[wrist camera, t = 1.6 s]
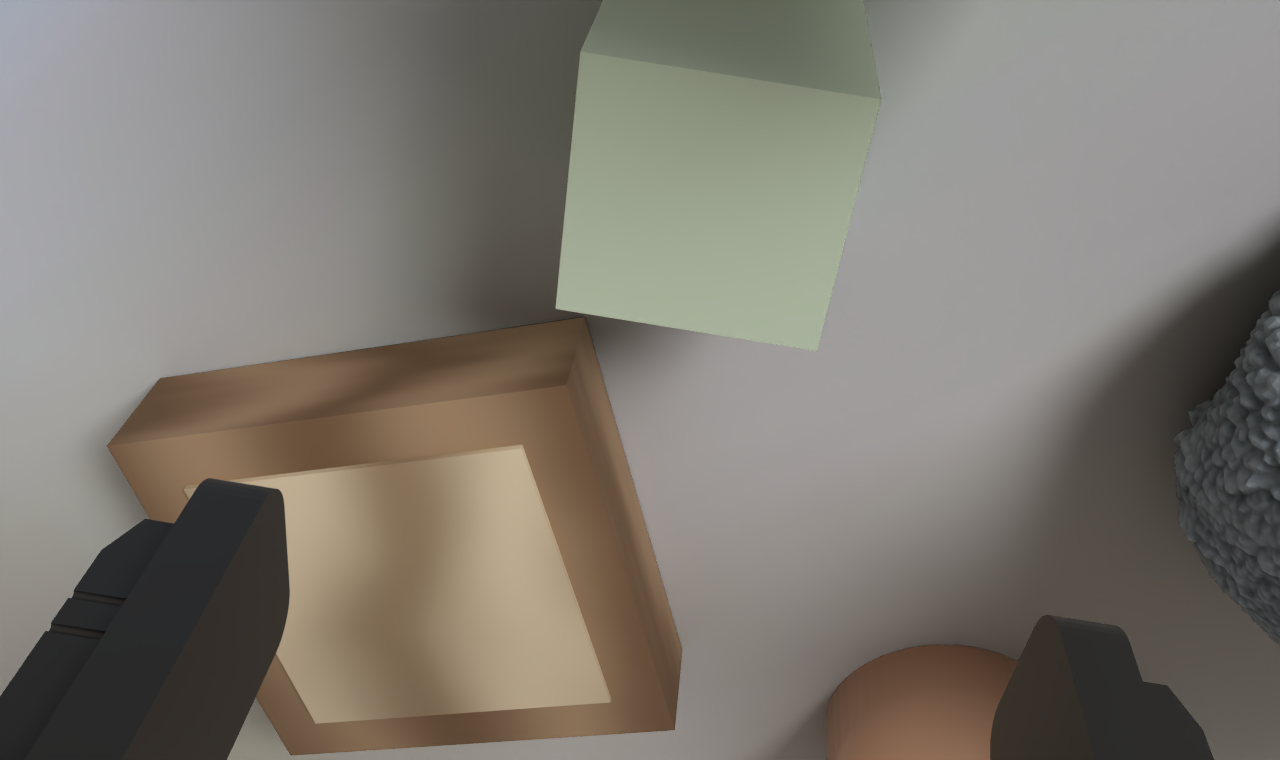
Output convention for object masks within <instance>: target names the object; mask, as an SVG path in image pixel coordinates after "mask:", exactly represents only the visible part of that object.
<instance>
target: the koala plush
mask: <svg viewBox="0 0 1280 760" xmlns="http://www.w3.org/2000/svg"><path fill="white" fill-rule="evenodd" d="M1268 303H1269V310H1267V311H1266V312H1264V313H1263V314H1262V315H1261V318H1260V319H1258V320H1257V323H1256V327H1255V328H1254V329H1253V330H1252V332H1251V333H1250V337H1251V339H1249V340H1248V341H1247V342H1246V343H1247V346H1246V347H1244V348H1242V349H1240V357H1239V358H1237V359H1236V360H1235V361H1234V364H1235V366H1236V368H1235V369H1234V370H1233V371H1232V372H1231V373H1230V376H1229V377H1227V378H1226V384H1225V385H1224V386H1223V388H1222V389H1220V390H1218V391H1217V393H1216V394H1215V395H1214V396H1213V399H1212V401H1205V402H1203V403H1200V404H1198V405H1196V408H1195V410H1191V411H1189V412H1188V414H1189V417H1190V421H1191V426H1189V427H1187V428H1186V429H1184V430H1182V431H1181V432H1180V433H1178V434H1177V435H1176V436H1175V438H1174V439H1173V442H1174V444H1175V445H1176V446H1177V447H1178V448H1179V450H1178V451H1177V452H1176V453H1175V455H1174V459H1175V461H1174V463H1175V466H1176V469H1175V471H1176V477H1177V483H1176V487H1177V498H1178V500H1179V502H1180V506H1179V517H1178V522H1179V523H1180V526H1181V528H1182V529H1183V530H1184V531H1185V532H1186V538H1187V540H1188V541H1192V542H1193V545H1194V548H1195V549H1196V550H1197V551H1198V553H1199V555H1200V557H1201V560H1202V562H1203V563H1204V565H1205V566H1206V568H1207V569H1208V570H1209V575H1210V576H1211V577H1212V578H1214V579H1215V581H1216V583H1218V584H1219V585H1220V586H1221V589H1222V590H1223V592H1225V593H1227V594H1228V595H1229V596H1230V597H1231V598H1232V599H1233V600H1234V601H1235V602H1237V603H1238V604H1239V605H1240V606H1241V608H1242V610H1243V611H1244V612H1246V613H1247V614H1249V615H1250V616H1251V618H1252V620H1253V621H1254V622H1255V623H1256V624H1257V625H1259V626H1260V627H1262V629H1263V630H1264V631H1266V632H1267V633H1268V635H1269V637H1270V638H1271V639H1273V640H1274V641H1275V642H1276V643H1277V644H1278V645H1279V646H1280V291H1276V292H1275V293H1274V294H1273V296H1272V297H1271V298H1270V300H1269V301H1268Z"/></svg>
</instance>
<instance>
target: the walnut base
mask: <svg viewBox="0 0 1280 760" xmlns="http://www.w3.org/2000/svg"><path fill="white" fill-rule="evenodd" d="M107 447H108V449H109V450H110V452H111V454H112V455H113V457H114V459H115V460H116V462H117V464H118V465H119V467H120V469H121V470H122V472H123V474H124V476H125V477H126V479H127V481H128V482H129V484H130V486H131V487H132V489H133V491H134V492H135V494H136V496H137V497H138V499H139V501H140V502H141V504H142V506H143V508H144V509H145V511H146V513H147V514H148V516H149V518H150V519H151V520H155V521H162V522H168V523H175V521H176V520H177V518H178V517H179V515H180V514H181V512H182V510H183V509H184V507H185V506H186V504H187V503H188V501H189V499H190V498H191V496H192V495H193V493H194V491H195V490H196V488H197V487H198V486H199V484H200V483H201V482H202V481H204V480H205V479H208V478H212V479H219V480H225V481H231V482H237V483H244V484H250V485H256V486H262V487H269V488H275V489H279V490H280V491H281V493H282V495H283V499H284V508H285V523H286V539H287V555H288V570H289V586H290V598H289V608H288V615H287V620H286V624H285V628H284V632H283V635H282V639H281V642H280V644H279V647H278V649H277V652H276V654H275V656H274V658H273V661H272V663H271V665H270V667H269V669H268V671H267V674H266V676H265V678H264V680H263V682H262V684H261V687H260V689H259V691H258V693H257V695H256V698H257V700H258V701H259V703H260V705H261V706H262V708H263V710H264V711H265V713H266V715H267V717H268V718H269V720H270V722H271V723H272V725H273V727H274V728H275V730H276V732H277V733H278V735H279V737H280V738H281V740H282V742H283V743H284V745H285V747H286V749H287V750H288V752H289V754H290V755H304V754H319V753H334V752H349V751H365V750H380V749H395V748H410V747H425V746H440V745H455V744H470V743H485V742H501V741H516V740H531V739H546V738H561V737H576V736H591V735H606V734H622V733H637V732H652V731H667V730H675V721H676V710H677V700H678V689H679V679H680V668H681V658H682V648H681V644H680V641H679V637H678V634H677V631H676V627H675V624H674V620H673V617H672V613H671V610H670V607H669V603H668V600H667V596H666V593H665V589H664V586H663V583H662V579H661V576H660V572H659V569H658V565H657V562H656V559H655V555H654V552H653V548H652V545H651V541H650V538H649V535H648V531H647V528H646V524H645V521H644V517H643V514H642V511H641V507H640V504H639V500H638V497H637V494H636V490H635V487H634V483H633V480H632V476H631V473H630V470H629V466H628V463H627V459H626V456H625V452H624V449H623V446H622V442H621V439H620V435H619V432H618V428H617V425H616V422H615V418H614V415H613V411H612V408H611V404H610V401H609V398H608V394H607V391H606V387H605V384H604V380H603V377H602V374H601V370H600V367H599V363H598V360H597V357H596V353H595V350H594V346H593V343H592V339H591V336H590V333H589V329H588V326H587V322H586V319H585V317H583V318H576V319H569V320H562V321H555V322H548V323H541V324H534V325H527V326H520V327H513V328H507V329H500V330H493V331H486V332H479V333H472V334H465V335H458V336H451V337H444V338H437V339H430V340H423V341H417V342H410V343H403V344H396V345H389V346H382V347H375V348H368V349H361V350H354V351H347V352H340V353H333V354H326V355H320V356H313V357H306V358H299V359H292V360H285V361H278V362H271V363H264V364H257V365H250V366H243V367H236V368H230V369H223V370H216V371H209V372H202V373H195V374H188V375H181V376H174V377H167V378H160V379H159V380H158V382H157V383H156V384H155V386H154V387H153V388H152V389H151V391H150V392H149V393H148V394H147V396H146V397H145V398H144V400H143V401H142V402H141V403H140V405H139V406H138V407H137V408H136V410H135V411H134V412H133V414H132V415H131V416H130V417H129V419H128V420H127V421H126V422H125V424H124V425H123V426H122V428H121V429H120V430H119V431H118V433H117V434H116V435H115V436H114V438H113V439H112V440H111V442H110V443H109V444H108V445H107Z"/></svg>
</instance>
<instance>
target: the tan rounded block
mask: <svg viewBox="0 0 1280 760" xmlns="http://www.w3.org/2000/svg"><path fill="white" fill-rule="evenodd" d="M1017 664H1018V662H1016V661H1015V660H1012V659H1010V658H1008V657H1006V656H1003V655H1001V654H998V653H995V652H992V651H989V650H985V649H980V648H975V647H969V646H961V645H925V646H918V647H912V648H907V649H903V650H899V651H895V652H892V653H889V654H886V655H883V656H880V657H878V658H876V659H874V660H872V661H870V662H868V663H866V664H865V665H863V666H861V667H860V668H858V669H857V670H855V671H854V672H853V673H852V674H850V675H849V676H848V677H847V678H846V679H845V680H844V681H843V682H842V683H841V684H840V685H839V686H838V688H837V689H836V691H835V692H834V694H833V695H832V698H831V700H830V702H829V704H828V708H827V713H826V742H827V760H991V759H990V740H991V730H992V724H993V720H994V715H995V712H996V709H997V707H998V704H999V702H1000V700H1001V698H1002V696H1003V693H1004V691H1005V689H1006V687H1007V685H1008V683H1009V681H1010V679H1011V676H1012V674H1013V672H1014V670H1015V668H1016V666H1017Z"/></svg>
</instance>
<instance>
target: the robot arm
mask: <svg viewBox="0 0 1280 760" xmlns="http://www.w3.org/2000/svg"><path fill="white" fill-rule="evenodd" d="M289 598H290V586H289V570H288V555H287V539H286V523H285V508H284V499H283V495H282V493H281V491H280V490H279V489H275V488H269V487H262V486H256V485H250V484H244V483H237V482H231V481H225V480H219V479H212V478H208V479H205V480H204V481H202V482H201V483H200V484H199V486H198V487H197V488H196V490H195V491H194V493H193V495H192V496H191V498H190V499H189V501H188V503H187V504H186V506H185V507H184V509H183V510H182V512H181V514H180V515H179V517H178V518H177V520H176V521H175V523H168V522H162V521H155V520H149V519H144V520H143V521H142V522H140V523H139V524H137V525H136V526H135V527H133V528H132V529H130V530H129V531H128V532H126V533H125V534H123V535H122V536H121V537H119V538H118V539H116V540H115V541H114V542H112V543H111V544H109V545H108V546H107V547H105V548H104V549H102V550H101V552H100V553H99V554H98V556H97V557H96V559H95V560H94V562H93V563H92V565H91V566H90V567H89V569H88V570H87V572H86V573H85V575H84V576H83V578H82V579H81V580H80V582H79V583H78V585H77V586H76V588H75V589H74V594H73V597H72V598H68V599H67V601H66V602H65V604H64V605H63V606H62V608H61V609H60V611H59V612H58V614H57V615H56V617H55V618H54V620H53V621H52V622H51V628H50V630H49V632H48V631H45V633H44V634H43V635H42V637H41V638H40V640H39V641H38V643H37V644H36V646H35V647H34V648H33V650H32V651H31V653H30V654H29V656H28V657H27V659H26V660H25V661H24V663H23V664H22V666H21V667H20V669H19V670H18V672H17V673H16V674H15V676H14V677H13V679H12V680H11V682H10V683H9V685H8V686H7V687H6V689H5V690H4V692H3V693H2V695H1V696H0V760H227V758H228V756H229V754H230V751H231V749H232V747H233V745H234V743H235V741H236V738H237V736H238V734H239V732H240V730H241V728H242V725H243V723H244V721H245V719H246V717H247V715H248V712H249V710H250V708H251V706H252V704H253V702H254V699H255V697H256V695H257V693H258V691H259V689H260V687H261V684H262V682H263V680H264V678H265V676H266V674H267V671H268V669H269V667H270V665H271V663H272V661H273V658H274V656H275V654H276V652H277V649H278V647H279V644H280V642H281V639H282V635H283V632H284V628H285V624H286V620H287V615H288V608H289ZM990 759H991V760H1214V759H1213V756H1212V753H1211V751H1210V748H1209V745H1208V743H1207V740H1206V737H1205V735H1204V732H1203V730H1202V729H1201V727H1200V726H1199V725H1198V724H1197V722H1196V721H1195V720H1194V719H1193V717H1192V716H1191V715H1190V714H1189V712H1188V711H1187V710H1186V709H1185V707H1184V706H1183V705H1182V704H1181V702H1180V701H1179V700H1178V699H1177V697H1176V696H1175V695H1174V694H1173V692H1172V691H1171V690H1170V689H1169V687H1168V686H1166V685H1160V684H1154V683H1148V682H1143V681H1142V678H1141V675H1140V672H1139V669H1138V666H1137V663H1136V660H1135V658H1134V655H1133V652H1132V649H1131V646H1130V643H1129V640H1128V638H1127V636H1126V634H1125V632H1124V631H1123V630H1122V629H1121V628H1120V627H1118V626H1113V625H1107V624H1101V623H1095V622H1088V621H1082V620H1076V619H1070V618H1063V617H1057V616H1051V615H1045V616H1043V617H1042V618H1041V619H1040V620H1039V621H1038V622H1037V624H1036V626H1035V627H1034V629H1033V632H1032V634H1031V636H1030V638H1029V640H1028V642H1027V644H1026V647H1025V649H1024V651H1023V653H1022V655H1021V657H1020V659H1019V661H1018V664H1017V666H1016V668H1015V670H1014V672H1013V674H1012V676H1011V679H1010V681H1009V683H1008V685H1007V687H1006V689H1005V691H1004V693H1003V696H1002V698H1001V700H1000V702H999V704H998V707H997V709H996V712H995V715H994V720H993V724H992V730H991V740H990Z"/></svg>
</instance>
